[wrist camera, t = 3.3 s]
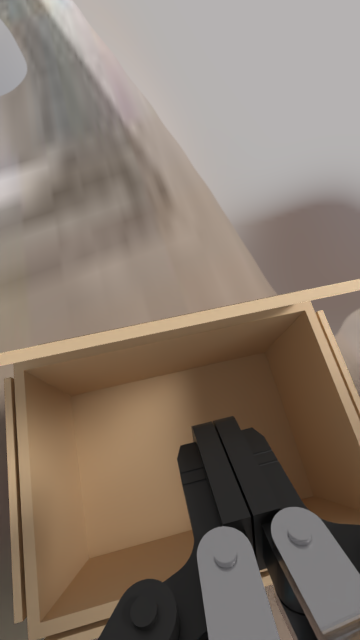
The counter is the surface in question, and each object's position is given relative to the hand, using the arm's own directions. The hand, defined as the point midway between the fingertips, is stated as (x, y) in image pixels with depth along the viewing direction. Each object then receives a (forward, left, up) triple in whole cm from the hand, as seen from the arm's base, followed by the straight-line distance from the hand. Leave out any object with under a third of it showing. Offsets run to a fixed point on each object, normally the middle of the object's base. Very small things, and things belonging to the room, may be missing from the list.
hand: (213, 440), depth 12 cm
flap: (-2, -7, -8) cm, 11 cm away
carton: (0, 0, -19) cm, 19 cm away
